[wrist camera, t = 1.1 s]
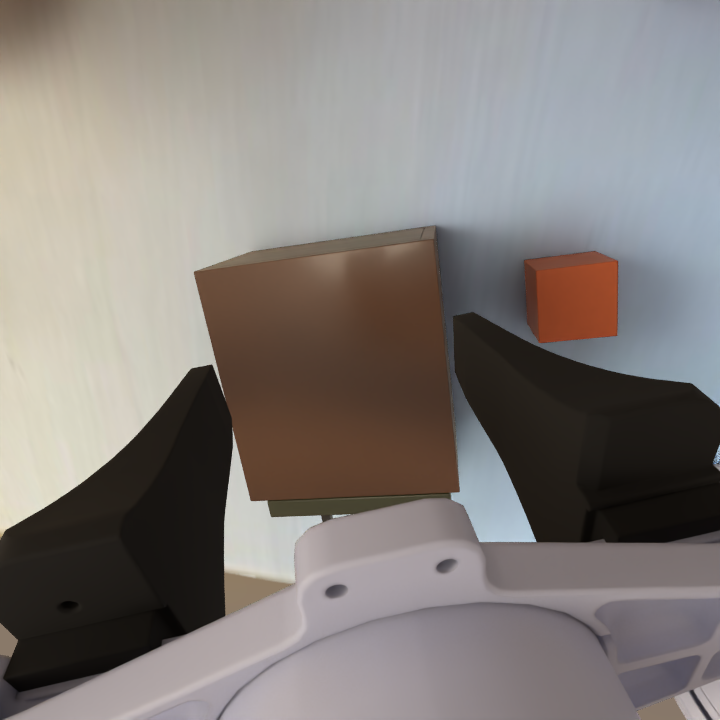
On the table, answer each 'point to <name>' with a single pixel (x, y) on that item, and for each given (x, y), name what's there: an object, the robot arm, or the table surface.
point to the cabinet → (336, 366)
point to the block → (572, 296)
